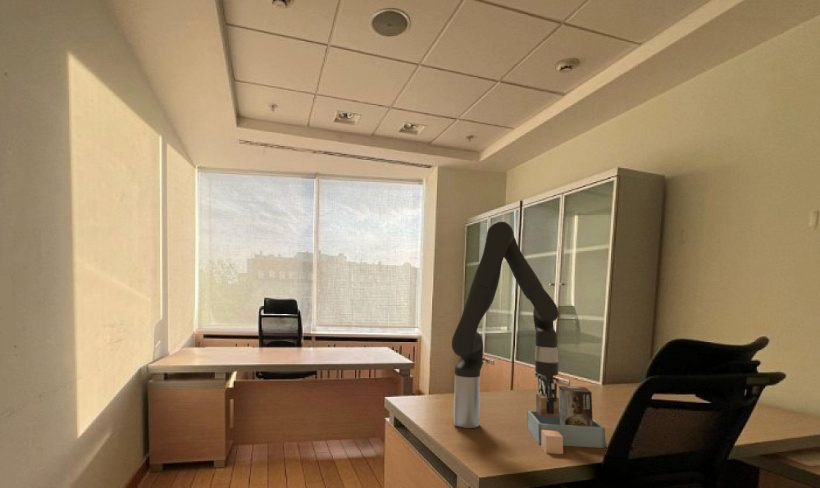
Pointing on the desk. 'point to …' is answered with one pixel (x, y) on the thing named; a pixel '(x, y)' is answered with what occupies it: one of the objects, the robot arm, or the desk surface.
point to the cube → (552, 441)
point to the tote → (567, 431)
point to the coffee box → (575, 406)
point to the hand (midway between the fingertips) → (547, 410)
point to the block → (545, 406)
